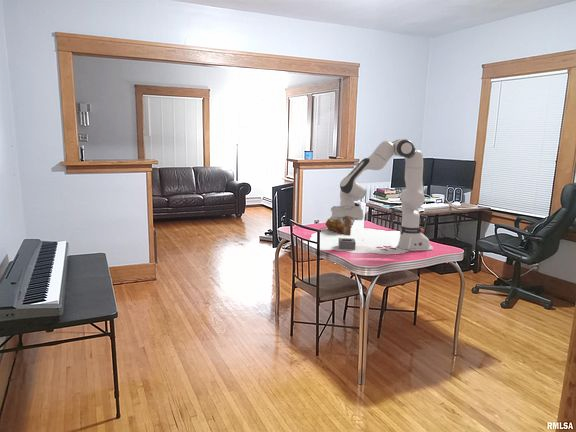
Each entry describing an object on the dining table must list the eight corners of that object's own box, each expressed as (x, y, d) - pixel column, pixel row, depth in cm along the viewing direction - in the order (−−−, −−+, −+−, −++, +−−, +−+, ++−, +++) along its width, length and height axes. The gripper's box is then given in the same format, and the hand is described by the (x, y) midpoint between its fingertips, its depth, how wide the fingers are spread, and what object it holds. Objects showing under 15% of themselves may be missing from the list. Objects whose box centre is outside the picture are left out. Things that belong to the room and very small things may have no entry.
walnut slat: (349, 234, 275) (350, 216, 273) (350, 235, 272) (351, 217, 270) (343, 234, 275) (344, 215, 273) (344, 235, 272) (345, 216, 270)
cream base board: (368, 248, 280) (369, 246, 280) (371, 253, 270) (371, 250, 269) (338, 247, 281) (338, 245, 281) (339, 252, 270) (339, 249, 270)
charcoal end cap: (353, 246, 280) (354, 238, 279) (355, 249, 271) (355, 242, 270) (338, 245, 280) (338, 238, 279) (339, 249, 271) (339, 241, 270)
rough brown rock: (323, 228, 341) (322, 209, 337) (343, 226, 342) (343, 208, 339) (329, 236, 318) (328, 216, 315) (351, 234, 320) (350, 214, 316)
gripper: (331, 203, 277) (331, 221, 270) (363, 204, 277) (364, 222, 269) (330, 209, 283) (330, 226, 275) (362, 210, 282) (363, 227, 274)
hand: (347, 224), depth 272 cm, fingers closed on walnut slat, 4 cm apart
